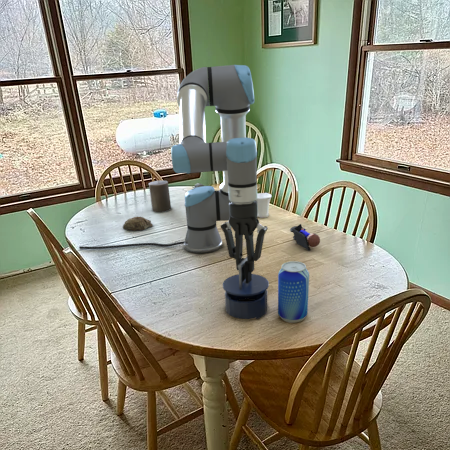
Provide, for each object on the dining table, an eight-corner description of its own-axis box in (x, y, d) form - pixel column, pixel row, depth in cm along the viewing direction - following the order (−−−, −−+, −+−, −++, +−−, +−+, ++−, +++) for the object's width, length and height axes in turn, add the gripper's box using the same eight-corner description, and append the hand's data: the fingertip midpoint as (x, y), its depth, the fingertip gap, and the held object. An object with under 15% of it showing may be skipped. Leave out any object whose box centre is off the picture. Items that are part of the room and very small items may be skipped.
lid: (215, 293, 126) (213, 265, 122) (234, 274, 136) (233, 247, 132) (258, 301, 121) (258, 272, 116) (275, 280, 131) (275, 253, 127)
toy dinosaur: (192, 197, 243) (191, 176, 237) (208, 196, 243) (206, 175, 238) (193, 209, 224) (191, 186, 218) (210, 207, 224) (208, 185, 219)
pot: (218, 316, 130) (217, 298, 127) (236, 297, 140) (235, 280, 137) (258, 323, 125) (258, 305, 122) (273, 303, 135) (273, 286, 132)
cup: (275, 214, 210) (275, 193, 205) (266, 219, 203) (265, 198, 198) (258, 211, 214) (258, 191, 209) (249, 217, 208) (248, 196, 203)
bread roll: (119, 230, 201) (117, 219, 199) (133, 221, 211) (132, 211, 209) (144, 232, 197) (142, 221, 194) (157, 223, 207) (156, 213, 204)
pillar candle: (169, 212, 221) (166, 182, 214) (150, 212, 222) (146, 183, 214) (172, 206, 230) (169, 177, 223) (153, 207, 230) (149, 178, 223)
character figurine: (301, 238, 181) (321, 251, 169) (286, 240, 179) (304, 253, 166) (303, 220, 178) (323, 232, 165) (287, 222, 175) (307, 234, 163)
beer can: (274, 321, 126) (274, 270, 118) (282, 307, 133) (283, 258, 125) (303, 326, 123) (305, 274, 115) (310, 311, 130) (312, 261, 122)
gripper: (212, 202, 116) (217, 282, 128) (263, 207, 111) (264, 290, 122) (224, 195, 122) (228, 272, 133) (273, 198, 116) (273, 279, 128)
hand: (245, 280), depth 128 cm, fingers closed on lid
